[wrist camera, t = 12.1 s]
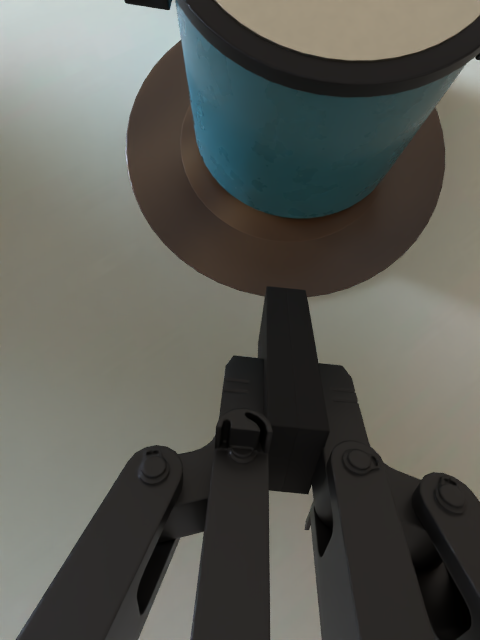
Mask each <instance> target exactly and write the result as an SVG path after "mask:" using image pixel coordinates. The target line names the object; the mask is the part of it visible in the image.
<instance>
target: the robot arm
mask: <svg viewBox="0 0 480 640" xmlns="http://www.w3.org/2000/svg"><path fill="white" fill-rule="evenodd" d="M357 401H358V400H357V396H356V393H355V389H354V385H353V381H352V378H351V376H350V375H349V374H348V373H347V371H346V370H345V369H344V367H343V366H341V365H331V364H321V363H318V358H317V352H316V346H315V340H314V335H313V329H312V323H311V317H310V311H309V305H308V300H307V294H306V290H300V289H290V288H281V287H271V286H266V293H265V300H264V307H263V314H262V321H261V328H260V334H259V341H258V358H252V357H243V356H233V357H232V358H231V360H230V361H229V362H228V364H227V365H226V368H225V376H224V384H223V392H222V399H221V407H220V415H219V420H218V423H217V426H216V435H215V437H214V438H213V440H212V441H211V442H210V443H209V444H208V445H206V446H204V447H203V448H201V449H198V450H195V451H192V452H187V453H182V454H177V453H176V451H174V450H172V449H170V448H168V447H165V446H158V445H155V446H150V447H145V448H143V449H142V450H140V451H138V452H136V453H135V454H134V455H133V456H132V457H131V458H130V460H129V461H128V462H127V464H126V465H125V467H124V468H123V470H122V472H121V473H120V475H119V476H118V478H117V480H116V481H115V483H114V484H113V486H112V487H111V489H110V491H109V492H108V494H107V495H106V497H105V499H104V500H103V502H102V503H101V505H100V507H99V508H98V510H97V511H96V513H95V514H94V516H93V518H92V519H91V521H90V522H89V524H88V526H87V527H86V529H85V530H84V532H83V534H82V535H81V537H80V538H79V540H78V541H77V543H76V545H75V546H74V548H73V549H72V551H71V553H70V554H69V556H68V557H67V559H66V561H65V562H64V564H63V565H62V567H61V568H60V570H59V572H58V573H57V575H56V576H55V578H54V580H53V581H52V583H51V584H50V586H49V587H48V589H47V591H46V592H45V594H44V595H43V597H42V599H41V600H40V602H39V603H38V605H37V607H36V608H35V610H34V611H33V613H32V614H31V616H30V618H29V619H28V621H27V622H26V624H25V626H24V627H23V629H22V630H21V632H20V634H19V635H18V637H17V638H16V640H138V638H139V636H140V633H141V631H142V629H143V626H144V624H145V621H146V619H147V617H148V614H149V612H150V609H151V607H152V605H153V602H154V600H155V597H156V595H157V593H158V590H159V588H160V585H161V583H162V581H163V578H164V576H165V573H166V571H167V569H168V566H169V564H170V561H171V559H172V557H173V554H174V552H175V549H176V547H177V545H178V542H179V540H180V538H181V537H184V536H188V535H192V534H196V533H200V532H203V531H204V536H203V544H202V552H201V560H200V567H199V575H198V583H197V591H196V599H195V607H194V615H193V623H192V631H191V639H190V640H270V570H269V490H271V491H281V492H291V493H301V494H309V491H310V488H311V485H312V490H313V503H312V506H311V508H310V511H309V514H308V517H307V519H306V524H305V530H309V529H310V526H311V530H312V541H313V551H314V562H315V573H316V583H317V594H318V605H319V615H320V626H321V636H322V640H480V502H479V500H478V499H477V498H476V496H475V495H474V494H473V493H472V491H471V490H470V489H469V488H468V487H467V486H466V485H465V484H463V483H462V482H461V481H459V480H458V479H456V478H455V477H452V476H450V475H447V474H444V473H435V472H433V473H430V474H427V475H425V476H424V477H423V479H422V480H420V479H417V478H414V477H412V476H409V475H407V474H404V473H402V472H399V471H397V470H395V469H393V468H391V467H389V466H388V465H386V464H385V463H383V461H382V459H381V457H380V456H379V455H378V454H377V453H376V451H375V450H374V449H373V448H371V447H370V444H369V442H368V438H367V434H366V430H365V427H364V423H363V419H362V415H361V412H360V408H359V404H358V403H357Z"/></svg>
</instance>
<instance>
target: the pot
mask: <svg viewBox="0 0 480 640" xmlns="http://www.w3.org/2000/svg"><path fill="white" fill-rule="evenodd" d="M175 1H176V7H177V14H178V21H179V28H180V34H181V41H182V48H183V54H184V61H185V68H186V75H187V81H188V88H189V95H190V102H191V108H192V115H193V122H194V129H195V135H196V141H197V145H198V148H199V151H200V154H201V156H202V159H203V161H204V163H205V165H206V167H207V168H208V170H209V171H210V173H211V174H212V176H213V177H214V178H215V179H216V180H217V182H218V183H219V184H220V185H221V186H222V187H223V188H224V189H225V190H226V191H228V192H229V193H230V194H231V195H232V196H234V197H235V198H237V199H238V200H240V201H241V202H242V203H244V204H246V205H248V206H250V207H252V208H254V209H256V210H259V211H262V212H265V213H267V214H271V215H275V216H280V217H287V218H315V217H322V216H326V215H330V214H334V213H337V212H340V211H342V210H344V209H347V208H349V207H351V206H353V205H354V204H356V203H358V202H359V201H361V200H362V199H364V198H365V197H366V196H367V195H369V194H370V193H371V192H372V191H373V190H374V189H375V188H376V187H377V186H378V185H379V184H380V182H381V181H382V180H383V178H384V177H385V176H386V174H387V173H388V171H389V170H390V169H391V167H392V166H393V165H394V163H395V162H396V160H397V159H398V158H399V156H400V155H401V153H402V152H403V151H404V149H405V148H406V147H407V145H408V144H409V142H410V141H411V140H412V138H413V137H414V135H415V134H416V133H417V131H418V130H419V129H420V127H421V126H422V124H423V123H424V122H425V120H426V119H427V117H428V116H429V115H430V113H431V112H432V111H433V109H434V108H435V106H436V105H437V104H438V102H439V101H440V100H441V98H442V97H443V95H444V94H445V93H446V91H447V90H448V88H449V87H450V86H451V84H452V83H453V82H454V80H455V79H456V77H457V76H458V75H459V73H460V72H461V70H462V69H463V68H464V66H465V65H466V64H467V63H468V62H469V61H470V60H472V59H473V58H474V57H475V56H476V59H477V60H480V0H175ZM171 2H172V0H125V3H127V4H133V5H140V6H146V7H152V8H158V9H165V10H170V6H171Z"/></svg>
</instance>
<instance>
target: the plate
mask: <svg viewBox="0 0 480 640" xmlns="http://www.w3.org/2000/svg"><path fill="white" fill-rule="evenodd" d="M126 159H127V168H128V174H129V178H130V182H131V186H132V189H133V193H134V195H135V197H136V200H137V202H138V204H139V207H140V209H141V211H142V213H143V215H144V216H145V218H146V220H147V221H148V223H149V224H150V226H151V228H152V229H153V230H154V232H155V233H156V234H157V235H158V237H159V238H160V239H161V240H162V242H163V243H164V244H165V245H166V246H167V247H168V248H169V249H170V250H171V251H172V252H173V253H174V254H176V255H177V256H178V257H179V258H180V259H181V260H182V261H184V262H185V263H186V264H188V265H189V266H191V267H192V268H193V269H195V270H196V271H198V272H199V273H201V274H203V275H205V276H207V277H209V278H211V279H212V280H214V281H216V282H218V283H221V284H223V285H226V286H229V287H231V288H234V289H237V290H239V291H243V292H248V293H252V294H256V295H260V296H265V293H266V286H271V287H281V288H290V289H300V290H306V294H307V297H312V296H319V295H326V294H330V293H334V292H337V291H340V290H344V289H347V288H350V287H352V286H355V285H357V284H359V283H361V282H364V281H366V280H368V279H370V278H372V277H373V276H375V275H376V274H378V273H380V272H381V271H383V270H385V269H386V268H387V267H389V266H390V265H391V264H392V263H394V262H395V261H396V260H397V259H398V258H400V257H401V256H402V255H403V254H404V253H405V252H406V251H407V250H408V249H409V247H410V246H411V245H412V244H413V243H414V242H415V241H416V240H417V238H418V237H419V235H420V234H421V232H422V231H423V229H424V228H425V226H426V225H427V223H428V221H429V219H430V217H431V215H432V213H433V211H434V209H435V207H436V204H437V201H438V198H439V195H440V191H441V188H442V182H443V176H444V170H445V147H444V139H443V131H442V128H441V124H440V120H439V117H438V113H437V111H436V108H434V109H433V111H432V112H431V113H430V115H429V116H428V117H427V119H426V120H425V122H424V123H423V124H422V126H421V127H420V129H419V130H418V131H417V133H416V134H415V135H414V137H413V138H412V140H411V141H410V142H409V144H408V145H407V147H406V148H405V149H404V151H403V152H402V153H401V155H400V156H399V158H398V159H397V160H396V162H395V163H394V165H393V166H392V167H391V169H390V170H389V171H388V173H387V174H386V176H385V177H384V178H383V180H382V181H381V182H380V184H379V185H378V186H377V187H376V188H375V189H374V190H373V191H372V192H371V193H370V194H369V195H367V196H366V197H365V198H364V199H362V200H361V201H359V202H358V203H356V204H354V205H353V206H351V207H349V208H347V209H344V210H342V211H340V212H337V213H334V214H330V215H326V216H322V217H315V218H287V217H280V216H275V215H271V214H267V213H265V212H262V211H259V210H256V209H254V208H252V207H250V206H248V205H246V204H244V203H242V202H241V201H240V200H238V199H237V198H235V197H234V196H232V195H231V194H230V193H229V192H228V191H226V190H225V189H224V188H223V187H222V186H221V185H220V184H219V183H218V182H217V180H216V179H215V178H214V177H213V176H212V174H211V173H210V171H209V170H208V168H207V167H206V165H205V163H204V161H203V159H202V156H201V154H200V151H199V148H198V145H197V141H196V135H195V129H194V122H193V115H192V108H191V102H190V95H189V88H188V81H187V75H186V68H185V61H184V54H183V48H182V41H181V40H180V41H179V42H178V43H177V44H176V45H175V46H173V47H172V48H171V49H170V50H169V51H168V52H167V53H166V54H165V55H164V56H163V57H162V58H161V59H160V60H159V61H158V63H157V64H156V65H155V66H154V67H153V69H152V70H151V72H150V73H149V75H148V76H147V78H146V79H145V81H144V82H143V84H142V86H141V88H140V90H139V92H138V94H137V96H136V99H135V102H134V105H133V108H132V111H131V114H130V117H129V123H128V129H127V134H126Z"/></svg>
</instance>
